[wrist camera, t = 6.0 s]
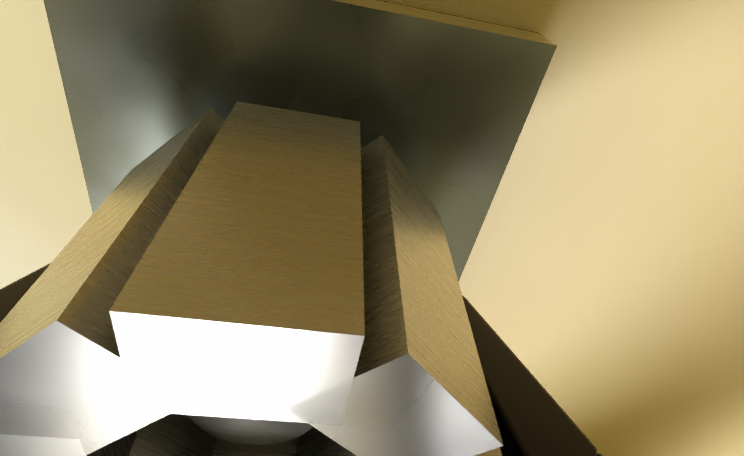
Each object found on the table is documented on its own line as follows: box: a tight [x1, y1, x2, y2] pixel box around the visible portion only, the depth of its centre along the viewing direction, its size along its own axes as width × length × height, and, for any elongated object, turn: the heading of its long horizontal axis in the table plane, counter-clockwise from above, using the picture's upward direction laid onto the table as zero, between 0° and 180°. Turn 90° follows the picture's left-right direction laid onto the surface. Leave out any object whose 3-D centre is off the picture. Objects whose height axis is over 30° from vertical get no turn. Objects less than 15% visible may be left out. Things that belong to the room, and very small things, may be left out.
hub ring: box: [0, 101, 503, 456], centre depth 7 cm, size 6×6×4 cm
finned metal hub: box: [44, 0, 556, 445], centre depth 8 cm, size 9×9×6 cm
